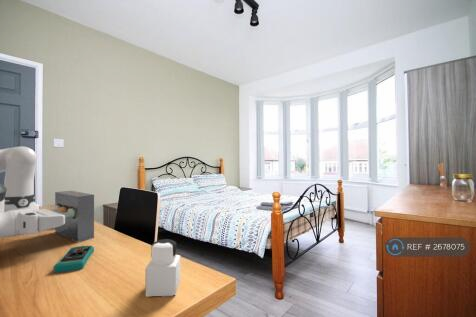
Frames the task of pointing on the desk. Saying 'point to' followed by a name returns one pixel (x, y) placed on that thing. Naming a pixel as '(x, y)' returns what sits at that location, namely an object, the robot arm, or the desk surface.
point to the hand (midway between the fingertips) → (68, 213)
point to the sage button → (71, 212)
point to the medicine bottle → (163, 269)
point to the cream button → (55, 208)
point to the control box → (77, 215)
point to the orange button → (62, 209)
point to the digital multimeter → (74, 259)
